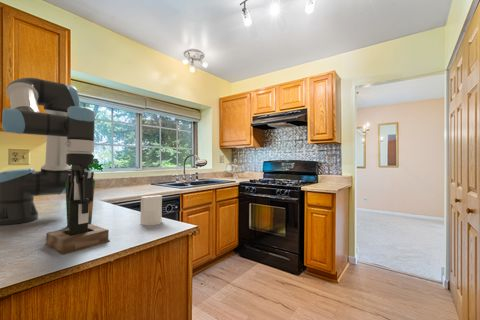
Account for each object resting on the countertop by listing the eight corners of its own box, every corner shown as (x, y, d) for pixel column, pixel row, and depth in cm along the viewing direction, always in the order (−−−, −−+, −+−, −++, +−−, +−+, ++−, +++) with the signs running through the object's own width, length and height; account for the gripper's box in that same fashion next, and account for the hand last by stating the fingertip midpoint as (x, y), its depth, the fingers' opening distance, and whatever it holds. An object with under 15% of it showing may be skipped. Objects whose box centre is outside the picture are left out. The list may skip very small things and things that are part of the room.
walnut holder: (44, 245, 73) (45, 232, 73) (90, 234, 84) (90, 223, 84) (62, 254, 66) (62, 241, 66) (109, 241, 77) (109, 229, 77)
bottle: (78, 229, 89) (80, 160, 90) (57, 227, 91) (58, 159, 92) (100, 222, 100) (101, 160, 100) (80, 220, 102) (82, 159, 102)
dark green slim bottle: (68, 238, 76) (70, 164, 76) (87, 235, 79) (88, 164, 79) (68, 242, 72) (70, 165, 72) (87, 239, 75) (89, 165, 75)
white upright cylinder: (156, 219, 108) (157, 194, 108) (164, 222, 102) (165, 196, 102) (137, 222, 102) (137, 196, 102) (145, 226, 95) (145, 198, 95)
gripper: (55, 152, 77) (53, 219, 77) (81, 152, 67) (79, 229, 67) (79, 153, 83) (78, 215, 83) (106, 153, 74) (105, 223, 73)
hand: (78, 221), depth 75 cm, fingers closed on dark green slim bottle, 6 cm apart
